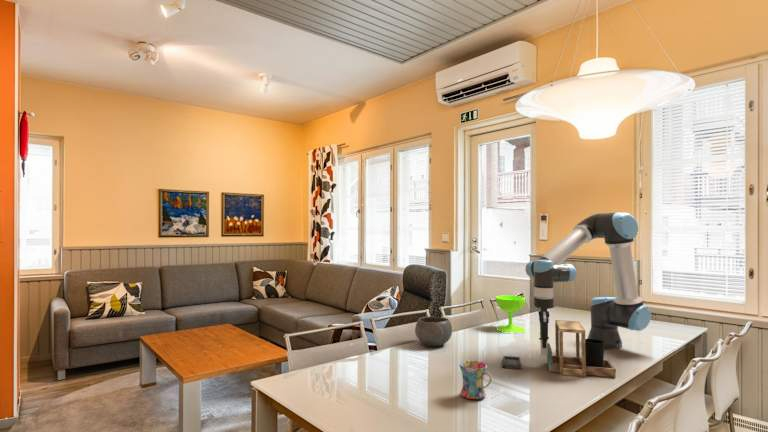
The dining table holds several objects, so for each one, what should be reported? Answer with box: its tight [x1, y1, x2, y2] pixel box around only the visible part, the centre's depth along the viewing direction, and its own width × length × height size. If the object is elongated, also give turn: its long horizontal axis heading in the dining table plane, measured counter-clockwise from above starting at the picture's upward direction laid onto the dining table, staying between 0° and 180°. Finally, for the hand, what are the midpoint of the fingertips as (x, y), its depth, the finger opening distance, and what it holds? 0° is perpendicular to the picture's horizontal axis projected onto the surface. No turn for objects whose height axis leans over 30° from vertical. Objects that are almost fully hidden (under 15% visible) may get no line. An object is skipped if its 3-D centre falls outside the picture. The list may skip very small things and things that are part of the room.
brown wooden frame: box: [554, 319, 587, 378], centre depth 173 cm, size 9×16×18 cm, turn 164°
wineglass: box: [495, 295, 526, 333], centre depth 239 cm, size 16×16×18 cm
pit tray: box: [502, 355, 522, 370], centre depth 179 cm, size 7×12×2 cm, turn 163°
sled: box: [546, 342, 617, 378], centre depth 172 cm, size 24×12×8 cm, turn 74°
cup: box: [585, 338, 606, 367], centre depth 170 cm, size 8×8×12 cm
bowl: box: [414, 316, 453, 347], centre depth 209 cm, size 18×18×13 cm
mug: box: [458, 360, 493, 400], centre depth 144 cm, size 12×9×11 cm
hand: (544, 355), depth 176 cm, fingers closed
